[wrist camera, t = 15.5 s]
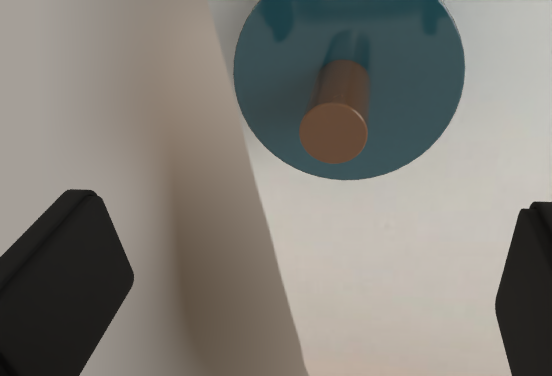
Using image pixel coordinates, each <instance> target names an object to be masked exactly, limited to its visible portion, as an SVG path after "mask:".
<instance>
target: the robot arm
mask: <svg viewBox="0 0 552 376" xmlns="http://www.w3.org/2000/svg"><path fill="white" fill-rule="evenodd" d="M133 281H134V274H133V271H132V268H131V266H130V263H129V261H128V259H127V256H126V254H125V252H124V249H123V247H122V244H121V242H120V240H119V237H118V235H117V233H116V230H115V228H114V225H113V223H112V221H111V218H110V216H109V213H108V211H107V209H106V206H105V204H104V202H103V200H102V198H101V197H99V196H97V194H96V193H95V192H94V191H92V190H72V189H70V190H67V191H65V192H64V193H63V194H62V195H61V196H60V197H59V198H58V199H57V200H56V201H55V202H54V203H53V204H52V205H51V206H50V207H49V208H48V209H47V210H46V211H45V213H43V214H42V215H41V216H40V217H39V218H38V220H36V221H35V222H34V224H33V225H32V226H31V227H30V228H29V229H28V230H27V231H26V232H25V233H24V234H23V235H22V236H21V237H20V238H19V239H18V240H17V241H16V242H15V243H14V244H13V245H12V246H11V247H10V248H9V249H8V250H7V251H6V252H5V253H4V254H3V255H2V256H1V257H0V376H79V375H80V373H81V372H82V370H83V368H84V366H85V365H86V363H87V361H88V360H89V358H90V356H91V354H92V353H93V351H94V350H95V348H96V346H97V345H98V343H99V341H100V339H101V338H102V336H103V335H104V333H105V331H106V329H107V328H108V326H109V324H110V323H111V321H112V319H113V318H114V316H115V314H116V313H117V311H118V309H119V308H120V306H121V304H122V302H123V301H124V299H125V298H126V296H127V294H128V292H129V291H130V289H131V287H132V285H133ZM495 310H496V316H497V320H498V324H499V328H500V332H501V336H502V339H503V343H504V347H505V351H506V355H507V358H508V362H509V366H510V370H511V374H512V376H552V202H533V203H532V204H531V205H530V208H529V209H521V210H520V212H519V215H518V219H517V223H516V226H515V230H514V234H513V237H512V241H511V245H510V248H509V252H508V256H507V259H506V263H505V267H504V271H503V274H502V278H501V282H500V285H499V289H498V293H497V296H496V302H495Z"/></svg>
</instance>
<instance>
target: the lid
mask: <svg viewBox="0 0 552 376" xmlns="http://www.w3.org/2000/svg"><path fill="white" fill-rule="evenodd" d="M233 75H234V85H235V91H236V96H237V100H238V103H239V106H240V109H241V111H242V114H243V116H244V118H245V120H246V122H247V124H248V126H249V127H250V129H251V130H252V131H253V133H254V134H255V136H256V137H257V138H258V139H259V141H260V142H261V143H262V144H263V145H264V146H265V147H266V148H267V149H268V150H269V151H270V152H271V153H273V154H274V155H275V156H276V157H278V158H279V159H281V160H282V161H283V162H285V163H287V164H289V165H290V166H292V167H294V168H296V169H298V170H301V171H303V172H305V173H308V174H311V175H315V176H318V177H323V178H328V179H336V180H359V179H366V178H372V177H376V176H380V175H384V174H387V173H389V172H392V171H395V170H397V169H399V168H401V167H403V166H405V165H407V164H409V163H410V162H412V161H413V160H415V159H416V158H418V157H419V156H420V155H422V154H423V153H424V152H425V151H426V150H428V149H429V148H430V147H431V146H432V145H433V144H434V143H435V142H436V140H437V139H438V138H439V137H440V136H441V135H442V133H443V132H444V130H445V129H446V128H447V126H448V125H449V123H450V121H451V119H452V117H453V115H454V114H455V112H456V109H457V106H458V104H459V101H460V98H461V94H462V90H463V85H464V76H465V60H464V50H463V46H462V41H461V37H460V34H459V32H458V29H457V27H456V24H455V21H454V19H453V17H452V16H451V14H450V12H449V11H448V9H447V7H446V6H445V4H444V3H443V1H442V0H260V1H259V2H258V3H257V4H256V6H255V7H254V9H253V10H252V12H251V13H250V15H249V16H248V18H247V20H246V22H245V24H244V26H243V28H242V31H241V33H240V36H239V39H238V42H237V46H236V51H235V57H234V73H233Z"/></svg>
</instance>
